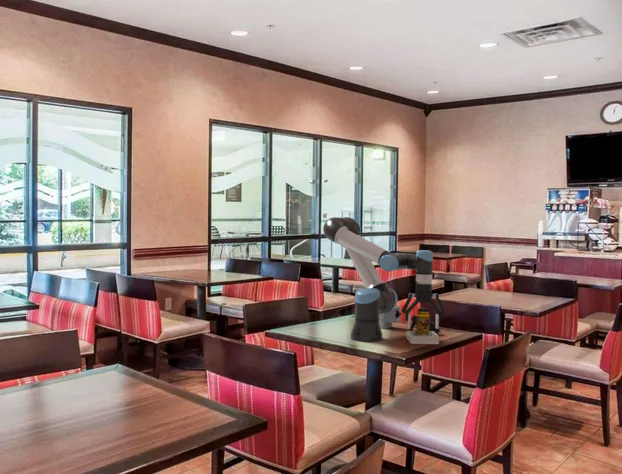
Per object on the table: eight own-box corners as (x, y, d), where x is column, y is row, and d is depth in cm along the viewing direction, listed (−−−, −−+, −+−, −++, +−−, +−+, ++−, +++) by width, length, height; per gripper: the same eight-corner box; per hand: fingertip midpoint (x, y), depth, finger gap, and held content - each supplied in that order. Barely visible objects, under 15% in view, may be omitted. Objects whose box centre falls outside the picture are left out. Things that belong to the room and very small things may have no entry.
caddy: (410, 343, 271) (411, 336, 271) (406, 338, 283) (406, 330, 283) (438, 344, 272) (439, 336, 271) (433, 338, 284) (433, 331, 283)
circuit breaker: (396, 330, 302) (397, 301, 302) (371, 327, 310) (372, 298, 309) (402, 328, 309) (403, 299, 308) (377, 325, 316) (378, 297, 316)
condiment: (424, 336, 272) (425, 310, 271) (409, 333, 278) (410, 308, 277) (433, 334, 277) (433, 308, 277) (417, 331, 283) (418, 306, 282)
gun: (434, 345, 293) (443, 328, 293) (405, 330, 293) (415, 313, 293) (433, 344, 296) (442, 327, 296) (404, 329, 296) (414, 312, 296)
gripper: (398, 283, 272) (397, 329, 273) (452, 284, 273) (450, 330, 274) (396, 281, 280) (395, 326, 281) (448, 282, 280) (446, 326, 281)
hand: (422, 328), depth 277 cm, fingers open, 13 cm apart
